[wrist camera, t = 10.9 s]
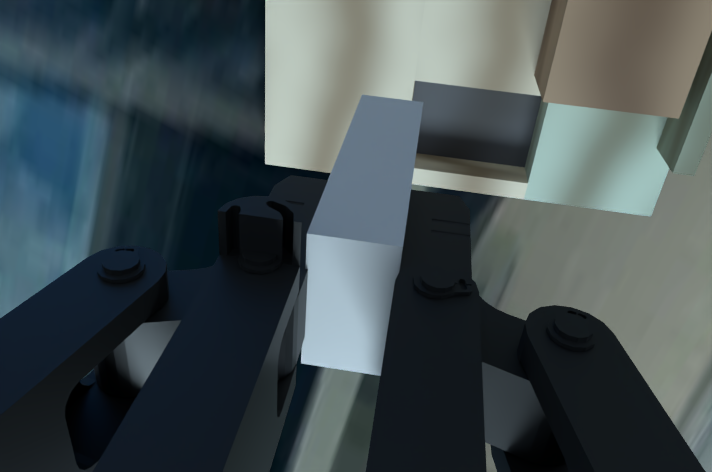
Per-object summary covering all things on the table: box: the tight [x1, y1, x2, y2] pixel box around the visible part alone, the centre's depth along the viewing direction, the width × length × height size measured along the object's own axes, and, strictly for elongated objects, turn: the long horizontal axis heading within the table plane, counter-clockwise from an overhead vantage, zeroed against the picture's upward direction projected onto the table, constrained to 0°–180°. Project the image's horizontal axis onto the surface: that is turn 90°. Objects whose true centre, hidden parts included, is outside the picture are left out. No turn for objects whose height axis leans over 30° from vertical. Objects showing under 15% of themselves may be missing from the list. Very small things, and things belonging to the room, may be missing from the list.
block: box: [534, 0, 712, 119], centre depth 28 cm, size 6×6×4 cm
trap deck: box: [265, 0, 712, 216], centre depth 30 cm, size 22×20×6 cm
